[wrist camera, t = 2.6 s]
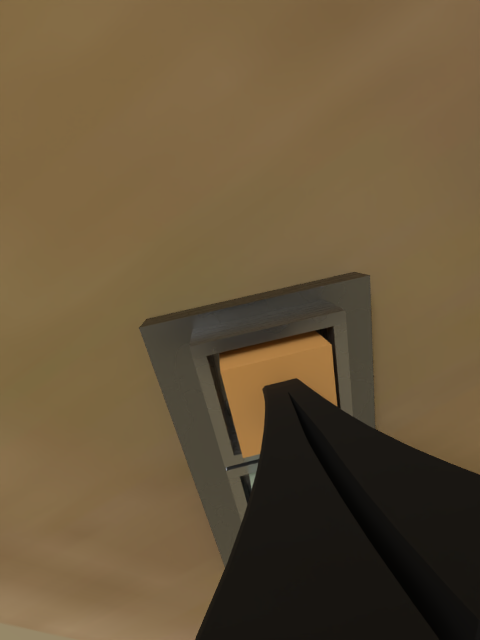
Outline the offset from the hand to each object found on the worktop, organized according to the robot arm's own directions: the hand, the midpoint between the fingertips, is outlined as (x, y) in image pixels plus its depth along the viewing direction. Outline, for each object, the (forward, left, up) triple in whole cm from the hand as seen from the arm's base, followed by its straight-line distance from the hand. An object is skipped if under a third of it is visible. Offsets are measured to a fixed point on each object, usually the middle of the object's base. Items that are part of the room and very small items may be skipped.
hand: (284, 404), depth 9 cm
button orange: (0, 0, -2) cm, 2 cm away
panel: (-6, 0, -4) cm, 7 cm away
